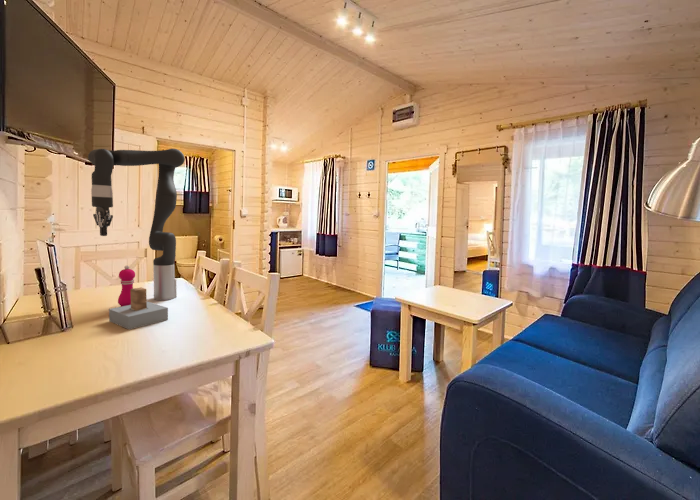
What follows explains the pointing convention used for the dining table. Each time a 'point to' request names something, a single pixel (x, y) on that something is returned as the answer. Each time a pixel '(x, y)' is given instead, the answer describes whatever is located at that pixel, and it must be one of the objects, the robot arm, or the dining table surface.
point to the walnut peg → (138, 299)
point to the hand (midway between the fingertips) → (103, 235)
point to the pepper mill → (126, 286)
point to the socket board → (138, 315)
